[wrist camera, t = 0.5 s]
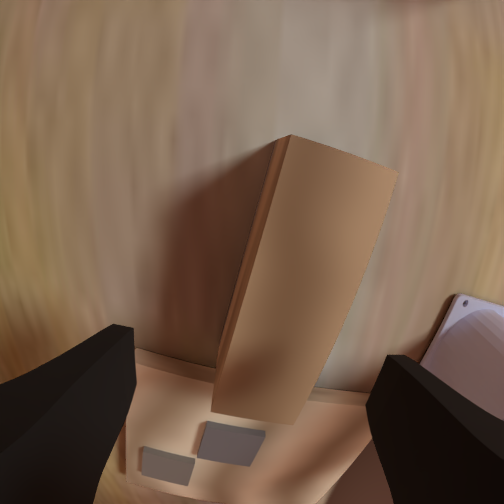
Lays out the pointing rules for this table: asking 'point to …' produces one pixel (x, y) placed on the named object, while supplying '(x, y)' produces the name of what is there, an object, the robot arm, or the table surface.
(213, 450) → the charcoal chip
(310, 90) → the table surface
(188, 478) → the charcoal chip
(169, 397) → the birch board
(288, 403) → the block
